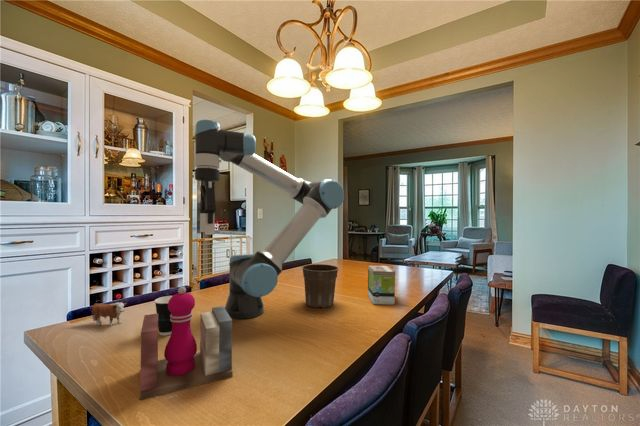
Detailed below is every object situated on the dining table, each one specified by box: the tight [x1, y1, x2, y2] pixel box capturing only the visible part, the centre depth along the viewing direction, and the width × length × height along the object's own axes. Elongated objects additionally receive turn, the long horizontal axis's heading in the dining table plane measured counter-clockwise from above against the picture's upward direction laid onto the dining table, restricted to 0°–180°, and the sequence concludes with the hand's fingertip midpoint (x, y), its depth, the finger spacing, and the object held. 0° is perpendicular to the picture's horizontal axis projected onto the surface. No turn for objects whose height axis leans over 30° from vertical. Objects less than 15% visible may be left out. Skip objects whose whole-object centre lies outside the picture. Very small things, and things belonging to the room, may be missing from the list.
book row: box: [139, 305, 234, 401], centre depth 71 cm, size 19×14×14 cm
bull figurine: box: [91, 301, 128, 327], centre depth 101 cm, size 4×13×8 cm, turn 78°
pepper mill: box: [163, 286, 198, 376], centre depth 71 cm, size 7×7×20 cm
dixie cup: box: [153, 295, 173, 336], centre depth 95 cm, size 8×8×11 cm
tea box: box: [367, 265, 396, 305], centre depth 133 cm, size 15×10×15 cm, turn 179°
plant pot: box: [301, 263, 340, 309], centre depth 126 cm, size 16×16×16 cm
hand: (206, 233), depth 95 cm, fingers open, 13 cm apart
